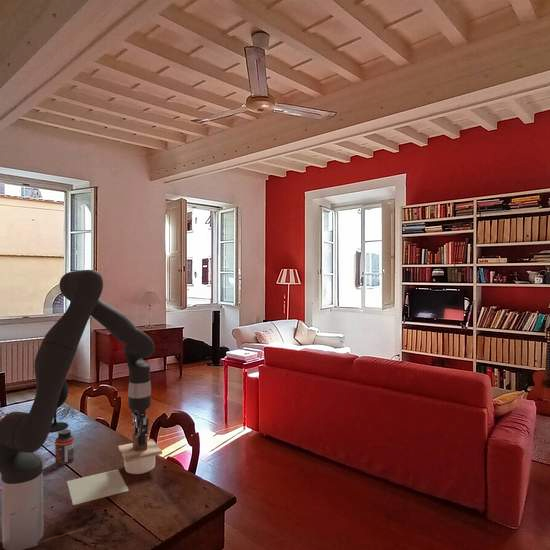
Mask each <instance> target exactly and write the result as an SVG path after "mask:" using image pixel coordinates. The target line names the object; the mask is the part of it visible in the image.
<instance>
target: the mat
mask: <svg viewBox="0 0 550 550" xmlns="http://www.w3.org/2000/svg"><path fill="white" fill-rule="evenodd" d="M66 483H67V487H68V491H69V494H70V498H71V502H72V505H73V506H77V505H80V504H83V503H86V502H90V501H91V502H92V501H95V500H99V499H103V498H107V497H110V496H114V495H117V494H122V493H125V492H129V491H130V490H129V488H128V486H127V484H126V482H125V480H124V478H123V476H122V474H121V473H120V470H119V469H114V470H109V471H105V472H101V473H97V474H92V475H87V476H83V477H79V478H74V479H71V480H66Z"/></svg>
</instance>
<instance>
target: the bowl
mask: <svg viewBox="0 0 550 550" xmlns="http://www.w3.org/2000/svg"><path fill="white" fill-rule="evenodd" d="M123 460H124V465H123V466H124V470H125V472H126V473H128V474H132V475H140V474H145V473H148V472H150V471H152V470H154V469H155V466H156V456H152V457H147V458H143V459H139V460H134V461H130V462H126V461H125V459H124V458H123Z"/></svg>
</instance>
